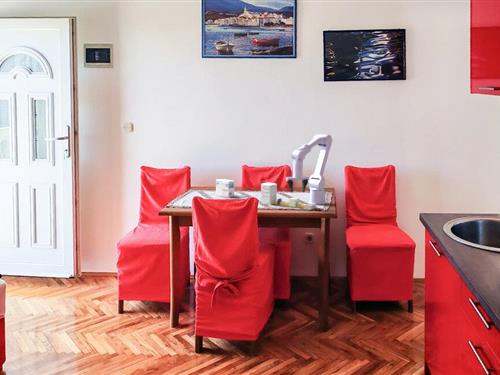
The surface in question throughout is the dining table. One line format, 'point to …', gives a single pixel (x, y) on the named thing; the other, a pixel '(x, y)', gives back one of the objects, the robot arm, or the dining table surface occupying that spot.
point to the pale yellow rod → (280, 202)
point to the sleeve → (293, 202)
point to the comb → (310, 206)
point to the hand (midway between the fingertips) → (297, 192)
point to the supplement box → (268, 193)
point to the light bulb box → (225, 188)
